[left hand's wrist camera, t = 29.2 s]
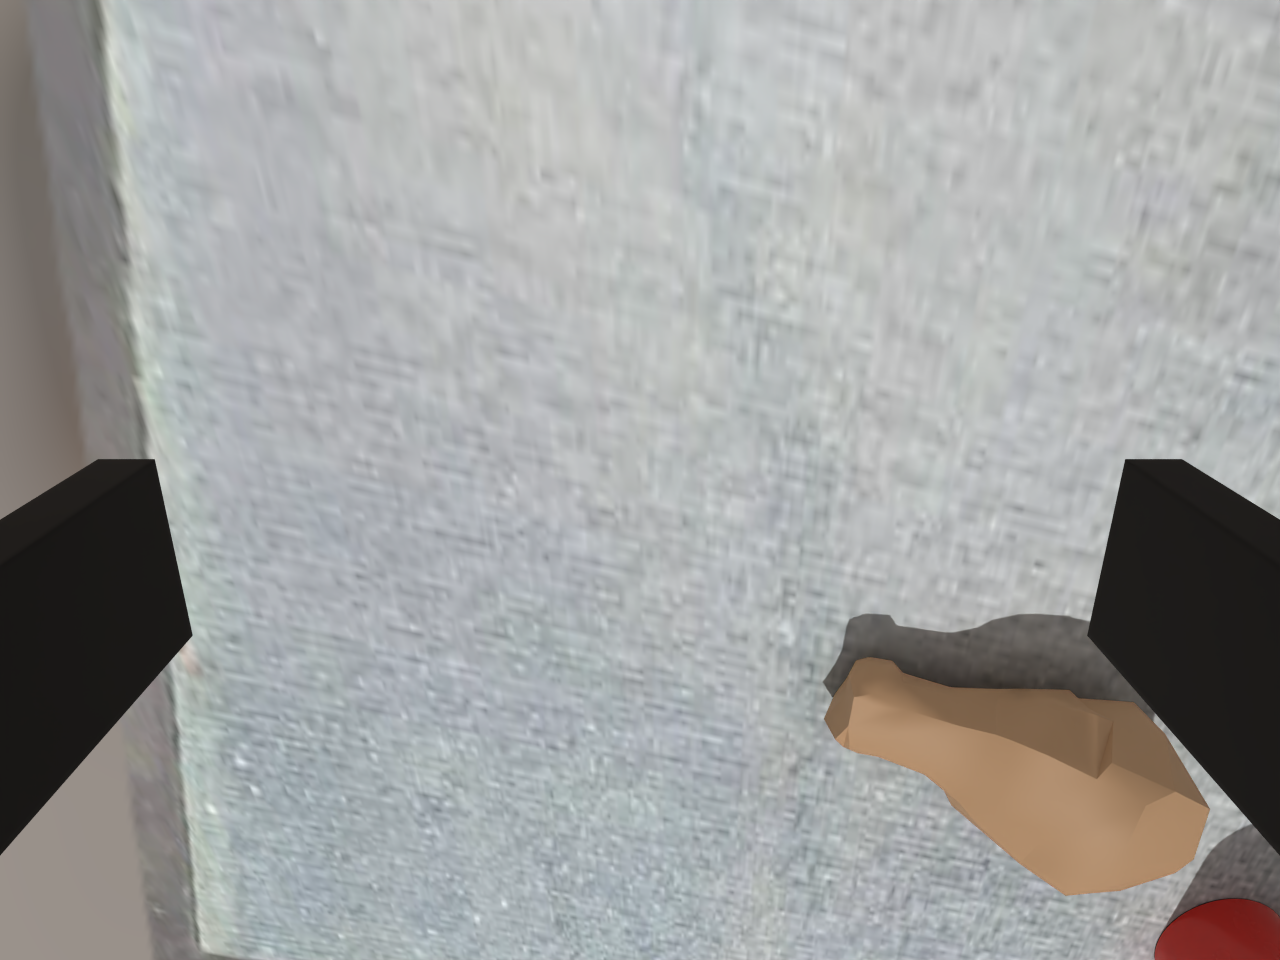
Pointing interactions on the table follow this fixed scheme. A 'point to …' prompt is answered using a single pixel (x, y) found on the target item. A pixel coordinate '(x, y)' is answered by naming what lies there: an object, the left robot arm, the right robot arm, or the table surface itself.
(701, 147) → the table surface
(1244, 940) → the tin
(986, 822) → the squash
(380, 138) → the table surface
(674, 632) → the table surface
